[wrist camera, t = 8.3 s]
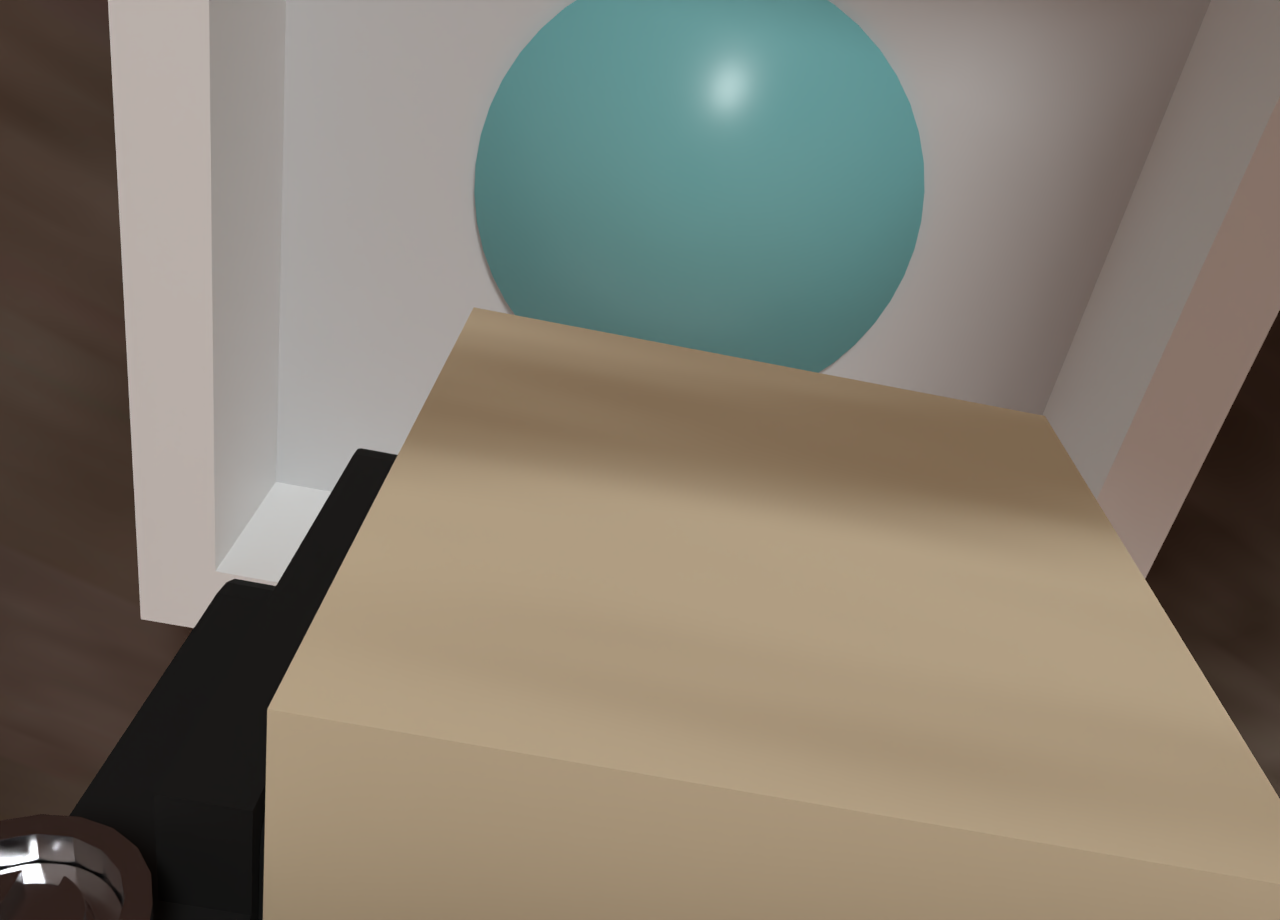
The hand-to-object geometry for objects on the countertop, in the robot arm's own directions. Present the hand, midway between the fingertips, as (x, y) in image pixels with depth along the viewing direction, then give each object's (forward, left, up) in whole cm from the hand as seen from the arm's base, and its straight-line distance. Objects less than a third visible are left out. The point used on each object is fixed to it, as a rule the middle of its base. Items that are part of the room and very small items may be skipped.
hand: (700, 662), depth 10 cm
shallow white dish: (0, 0, -15) cm, 15 cm away
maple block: (0, 0, -1) cm, 1 cm away
